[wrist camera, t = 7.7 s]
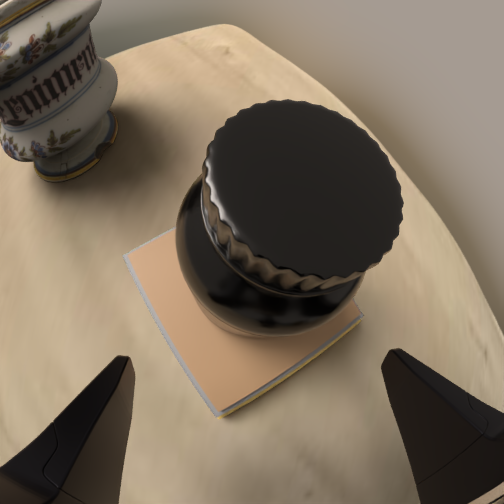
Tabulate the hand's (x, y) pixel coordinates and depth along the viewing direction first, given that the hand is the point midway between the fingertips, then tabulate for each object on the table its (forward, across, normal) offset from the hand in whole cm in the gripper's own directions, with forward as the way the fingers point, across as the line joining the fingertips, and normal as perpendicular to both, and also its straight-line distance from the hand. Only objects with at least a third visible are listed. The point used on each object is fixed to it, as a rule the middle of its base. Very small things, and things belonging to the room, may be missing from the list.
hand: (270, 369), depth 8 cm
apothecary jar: (+20, +17, -6) cm, 27 cm away
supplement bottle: (+9, 0, +2) cm, 9 cm away
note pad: (+10, 0, +4) cm, 11 cm away
